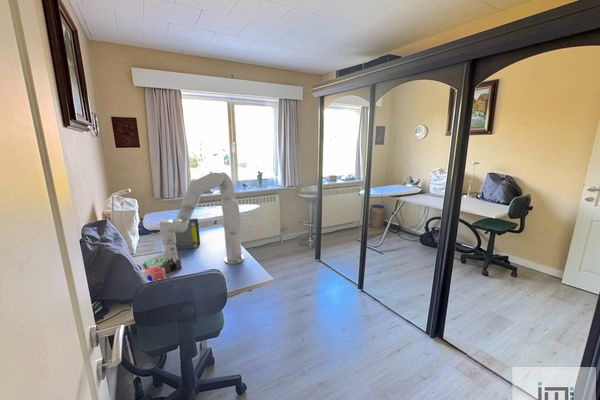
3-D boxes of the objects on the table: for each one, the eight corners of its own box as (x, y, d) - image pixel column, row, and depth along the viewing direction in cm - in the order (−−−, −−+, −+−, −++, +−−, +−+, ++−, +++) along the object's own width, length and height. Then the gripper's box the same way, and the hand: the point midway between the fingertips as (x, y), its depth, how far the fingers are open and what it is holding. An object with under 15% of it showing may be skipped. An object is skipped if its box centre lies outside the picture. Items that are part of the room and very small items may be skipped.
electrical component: (172, 250, 189) (168, 224, 184) (175, 245, 198) (172, 220, 194) (198, 248, 192) (195, 222, 188) (200, 243, 202) (197, 218, 197)
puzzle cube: (166, 280, 148) (164, 267, 146) (153, 287, 141) (151, 274, 139) (156, 277, 151) (154, 265, 149) (143, 284, 144) (141, 271, 142)
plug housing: (181, 268, 162) (180, 259, 161) (165, 273, 156) (164, 263, 155) (179, 266, 164) (178, 257, 163) (163, 271, 158) (162, 262, 157)
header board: (180, 261, 171) (179, 255, 170) (149, 271, 159) (148, 263, 158) (173, 255, 181) (172, 248, 180) (144, 263, 169) (142, 256, 168)
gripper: (180, 242, 152) (183, 271, 156) (171, 235, 164) (174, 262, 169) (166, 246, 148) (170, 275, 152) (158, 238, 160) (162, 266, 164)
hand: (172, 268), depth 160 cm, fingers closed on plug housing, 3 cm apart
